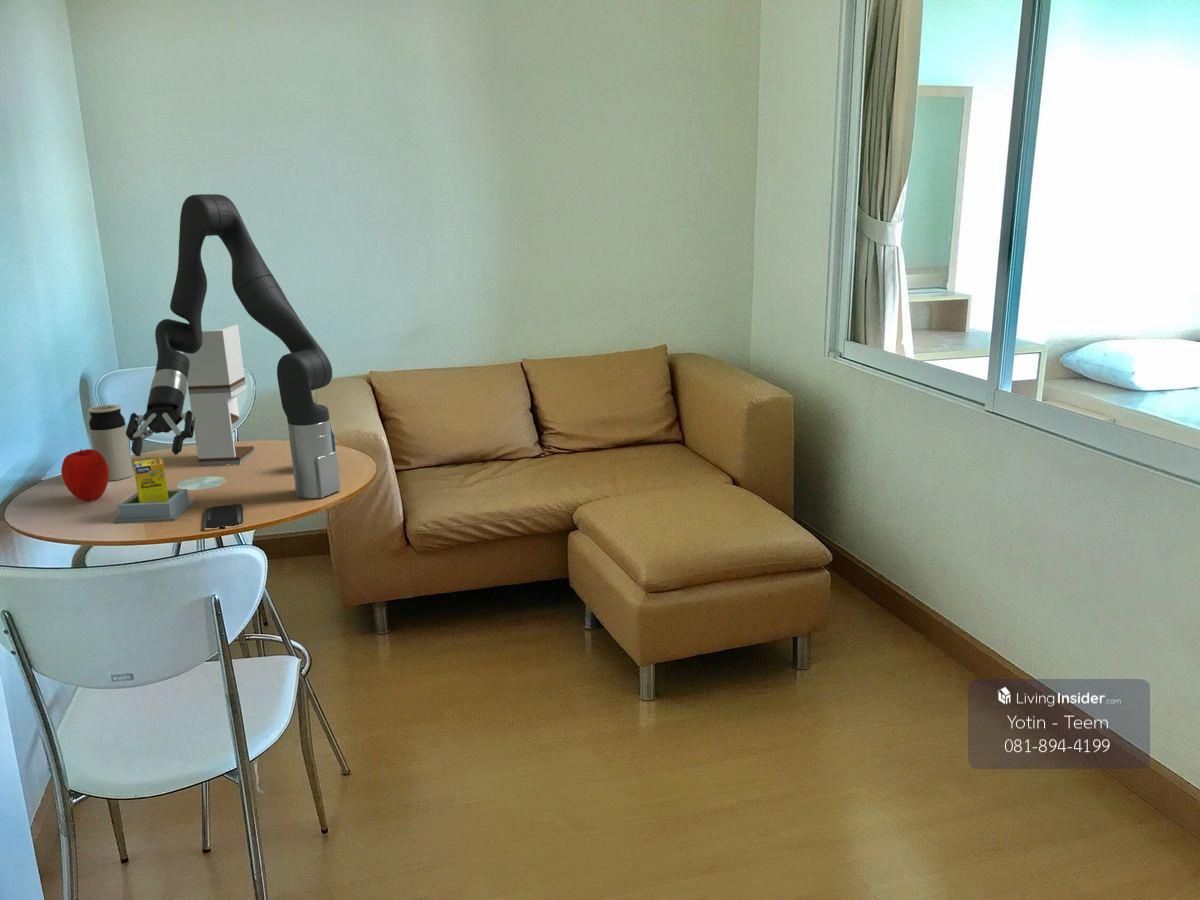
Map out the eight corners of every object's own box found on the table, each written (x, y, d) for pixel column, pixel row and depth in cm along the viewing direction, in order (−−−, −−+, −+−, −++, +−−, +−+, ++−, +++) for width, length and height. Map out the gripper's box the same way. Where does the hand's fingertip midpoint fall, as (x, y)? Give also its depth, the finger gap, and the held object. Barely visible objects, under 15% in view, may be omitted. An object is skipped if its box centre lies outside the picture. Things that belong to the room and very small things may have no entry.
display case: (240, 464, 258) (222, 330, 249) (199, 466, 258) (180, 332, 249) (254, 453, 269) (237, 324, 260) (215, 454, 269) (197, 326, 260)
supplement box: (171, 510, 219) (163, 463, 217) (141, 515, 217) (133, 467, 214) (168, 503, 225) (161, 457, 222) (139, 508, 222) (132, 461, 219)
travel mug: (116, 482, 246) (105, 411, 241) (91, 480, 248) (79, 410, 243) (140, 473, 253) (129, 404, 248) (115, 472, 255) (104, 403, 251)
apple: (82, 493, 238) (73, 443, 235) (121, 492, 237) (113, 443, 234) (57, 506, 228) (48, 454, 225) (99, 505, 228) (90, 454, 224)
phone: (242, 503, 223) (242, 523, 209) (242, 508, 223) (243, 528, 209) (204, 507, 220) (202, 528, 207) (205, 512, 221) (203, 533, 207)
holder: (195, 502, 227) (193, 487, 226) (174, 520, 215) (171, 504, 214) (138, 504, 227) (136, 489, 226) (113, 523, 214) (110, 507, 213)
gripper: (130, 385, 226) (116, 446, 218) (193, 382, 227) (181, 443, 219) (143, 403, 233) (130, 463, 225) (204, 400, 233) (193, 460, 225)
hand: (155, 453), depth 222 cm, fingers open, 8 cm apart
